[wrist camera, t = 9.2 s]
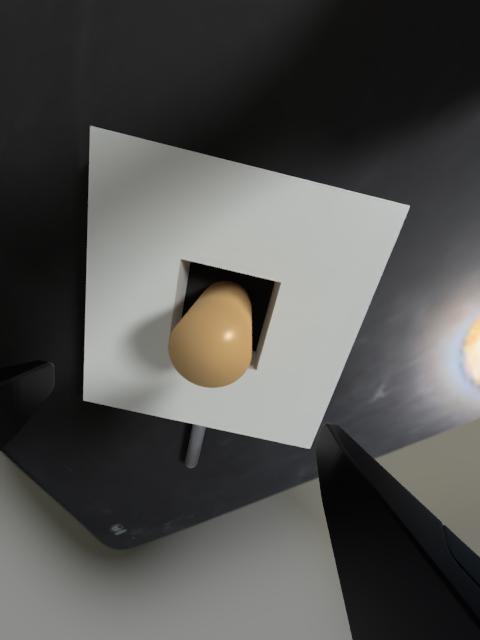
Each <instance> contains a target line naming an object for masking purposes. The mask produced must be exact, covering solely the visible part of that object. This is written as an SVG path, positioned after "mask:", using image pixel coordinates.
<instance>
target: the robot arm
mask: <svg viewBox="0 0 480 640" xmlns="http://www.w3.org/2000/svg"><path fill="white" fill-rule="evenodd" d="M53 388H54V365H53V364H52V363H51V362H46V361H41V360H37V361H32V362H28V363H23V364H19V365H14V366H10V367H5V368H1V369H0V450H1V449H2V448H3V447H4V446H5V445H6V444H7V443H8V442H9V441H10V440H11V439H12V438H13V437H14V436H15V435H16V434H17V433H18V432H19V430H20V429H21V428H22V427H23V426H24V425H25V423H26V422H27V421H28V420H29V419H30V417H31V416H32V415H33V414H34V413H35V411H36V410H37V409H38V408H39V407H40V405H41V404H42V403H43V402H44V401H45V399H46V398H47V397H48V396H49V395H50V393H51V392H52V390H53ZM316 457H317V465H318V474H319V482H320V490H321V497H322V502H323V507H324V511H325V516H326V521H327V525H328V529H329V534H330V539H331V543H332V548H333V552H334V557H335V562H336V566H337V571H338V575H339V579H340V584H341V589H342V593H343V598H344V602H345V607H346V612H347V616H348V620H349V625H350V630H351V634H352V639H353V640H480V557H479V556H478V555H477V554H476V553H475V552H473V551H472V550H471V549H470V548H469V547H468V546H467V545H466V544H465V543H464V542H462V541H461V540H460V539H459V538H458V537H457V536H456V535H455V534H454V533H453V532H452V531H451V530H450V529H449V528H448V527H446V526H445V525H442V522H441V521H440V520H439V519H438V518H437V517H436V516H435V515H433V514H432V513H431V512H430V511H429V510H428V509H427V508H426V507H425V506H424V505H423V504H422V503H421V502H419V500H417V499H416V498H415V497H414V496H413V495H412V494H411V493H410V492H409V491H408V490H407V489H405V487H403V486H402V485H401V484H400V483H399V482H398V481H397V480H396V479H395V478H394V477H393V476H392V475H391V474H390V473H389V472H387V471H386V470H385V469H384V468H383V467H382V466H381V465H380V464H379V463H378V462H377V461H376V460H375V459H374V458H372V457H371V456H370V455H369V454H368V453H367V452H366V451H365V450H364V449H363V448H362V447H361V446H360V445H359V444H357V443H356V442H355V441H354V440H353V439H352V438H351V437H350V436H349V435H348V434H347V433H346V432H345V431H344V430H342V429H341V428H340V427H339V426H338V425H336V424H332V423H324V424H323V426H322V429H321V431H320V433H319V436H318V438H317V441H316Z"/></svg>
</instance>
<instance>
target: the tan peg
mask: <svg viewBox="0 0 480 640" xmlns="http://www.w3.org/2000/svg"><path fill="white" fill-rule="evenodd" d="M168 350H169V356H170V359H171V362H172V364H173V366H174V368H175V369H176V370H177V372H178V373H179V374H180V375H181V376H182V377H183V378H185V379H186V380H188V381H189V382H191V383H193V384H196V385H198V386H202V387H208V388H217V387H223V386H227V385H229V384H231V383H233V382H235V381H237V380H238V379H239V378H241V377H242V375H243V374H244V373H245V372H246V370H247V369H248V367H249V365H250V362H251V358H252V303H251V299H250V296H249V294H248V292H247V291H246V290H245V289H244V288H243V287H242V286H241V285H239V284H238V283H235V282H232V281H225V280H224V281H218V282H215V283H213V284H211V285H210V286H209V287H208V288H207V289H206V290H205V291H204V292H203V293H202V295H201V296H200V297H199V298H198V300H197V301H196V302H195V303H194V304H193V306H192V307H191V308H190V309H189V311H188V312H187V313H186V314H185V315H184V317H183V318H182V319H181V320H180V321H179V323H178V324H177V325H176V326H175V328H174V329H173V331H172V333H171V335H170V339H169V344H168Z"/></svg>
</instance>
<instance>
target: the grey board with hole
mask: <svg viewBox="0 0 480 640" xmlns="http://www.w3.org/2000/svg"><path fill="white" fill-rule="evenodd" d="M409 208H410V206H409V205H405V204H401V203H397V202H393V201H389V200H385V199H381V198H377V197H373V196H369V195H365V194H361V193H357V192H353V191H349V190H345V189H341V188H337V187H333V186H329V185H325V184H321V183H317V182H313V181H309V180H305V179H301V178H297V177H293V176H289V175H285V174H281V173H277V172H273V171H269V170H265V169H261V168H257V167H253V166H249V165H245V164H241V163H237V162H233V161H229V160H225V159H221V158H217V157H213V156H209V155H205V154H201V153H197V152H193V151H189V150H185V149H181V148H177V147H173V146H169V145H165V144H161V143H157V142H153V141H149V140H145V139H141V138H137V137H133V136H129V135H125V134H121V133H117V132H113V131H109V130H105V129H101V128H97V127H93V126H90V150H89V189H88V228H87V267H86V306H85V344H84V383H83V401H88V402H92V403H97V404H102V405H106V406H111V407H116V408H120V409H125V410H130V411H134V412H139V413H144V414H148V415H153V416H158V417H162V418H167V419H172V420H176V421H181V422H186V423H190V424H193V425H192V430H191V435H190V440H189V445H188V450H187V455H186V460H185V463H186V466H187V467H189V468H194V467H195V466H196V465H197V463H198V459H199V455H200V451H201V446H202V442H203V437H204V433H205V429H206V427H209V428H214V429H219V430H223V431H228V432H233V433H237V434H242V435H247V436H251V437H256V438H261V439H265V440H270V441H275V442H279V443H284V444H289V445H293V446H298V447H303V448H307V449H310V448H311V445H312V443H313V440H314V438H315V436H316V433H317V431H318V428H319V426H320V424H321V421H322V419H323V416H324V414H325V411H326V409H327V407H328V404H329V402H330V399H331V397H332V394H333V392H334V390H335V387H336V385H337V382H338V380H339V378H340V375H341V373H342V370H343V368H344V365H345V363H346V361H347V358H348V356H349V353H350V351H351V348H352V346H353V344H354V341H355V339H356V336H357V334H358V332H359V329H360V327H361V324H362V322H363V319H364V317H365V315H366V312H367V310H368V307H369V305H370V303H371V300H372V298H373V295H374V293H375V290H376V288H377V286H378V283H379V281H380V278H381V276H382V273H383V271H384V269H385V266H386V264H387V261H388V259H389V257H390V254H391V252H392V249H393V247H394V244H395V242H396V240H397V237H398V235H399V232H400V230H401V227H402V225H403V223H404V220H405V218H406V215H407V213H408V211H409ZM190 262H196V263H200V264H204V265H208V266H213V267H217V268H221V269H225V270H230V271H234V272H238V273H242V274H247V275H251V276H255V277H259V278H264V279H268V280H272V281H275V283H274V287H273V290H272V294H271V298H270V301H269V305H268V309H267V312H266V316H265V319H264V323H263V327H262V330H261V334H260V338H259V341H258V345H257V349H256V352H255V351H252V358H251V362H250V365H249V367H248V369H247V370H246V372H245V373H244V374H243V375H242V377H241V378H239V379H238V380H237V381H235V382H233V383H231V384H229V385H227V386H223V387H217V388H208V387H202V386H198V385H196V384H193V383H191V382H189V381H188V380H186V379H185V378H183V377H182V376H181V375H180V374H179V373H178V372H177V370H176V369H175V368H174V366H173V364H172V362H171V359H170V356H169V350H168V344H169V339H170V335H171V333H172V331H173V329H174V328H175V326H176V325H177V324H178V323H179V321H180V320H181V318H182V312H183V306H184V300H185V293H186V287H187V281H188V275H189V268H190Z"/></svg>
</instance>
